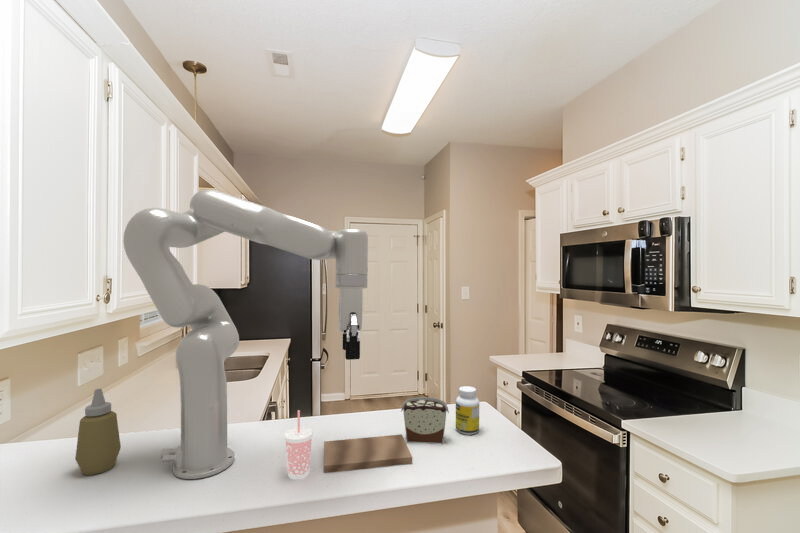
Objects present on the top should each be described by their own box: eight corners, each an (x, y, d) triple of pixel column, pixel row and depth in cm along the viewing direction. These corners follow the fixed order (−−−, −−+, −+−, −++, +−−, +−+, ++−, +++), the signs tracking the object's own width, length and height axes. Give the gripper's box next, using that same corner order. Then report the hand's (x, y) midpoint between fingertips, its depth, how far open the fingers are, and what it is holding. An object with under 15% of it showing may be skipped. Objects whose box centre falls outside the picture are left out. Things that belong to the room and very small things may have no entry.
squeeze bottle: (84, 463, 89) (83, 386, 89) (125, 457, 92) (125, 382, 91) (68, 481, 81) (67, 397, 81) (114, 474, 84) (113, 392, 84)
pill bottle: (451, 427, 108) (451, 386, 108) (472, 424, 110) (472, 384, 110) (462, 437, 102) (462, 393, 102) (483, 433, 104) (483, 391, 104)
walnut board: (324, 472, 84) (324, 466, 84) (324, 447, 96) (324, 441, 96) (412, 463, 88) (412, 457, 88) (401, 440, 100) (401, 434, 100)
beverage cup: (285, 468, 86) (284, 406, 86) (312, 464, 88) (312, 404, 88) (283, 483, 80) (283, 417, 80) (313, 479, 82) (313, 414, 82)
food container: (448, 433, 104) (448, 397, 104) (448, 444, 98) (448, 405, 98) (403, 431, 105) (403, 395, 105) (401, 442, 99) (401, 403, 99)
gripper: (333, 280, 98) (333, 346, 98) (337, 283, 81) (336, 364, 81) (363, 280, 99) (362, 345, 99) (372, 283, 82) (371, 362, 83)
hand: (350, 354), depth 90 cm, fingers open, 9 cm apart
